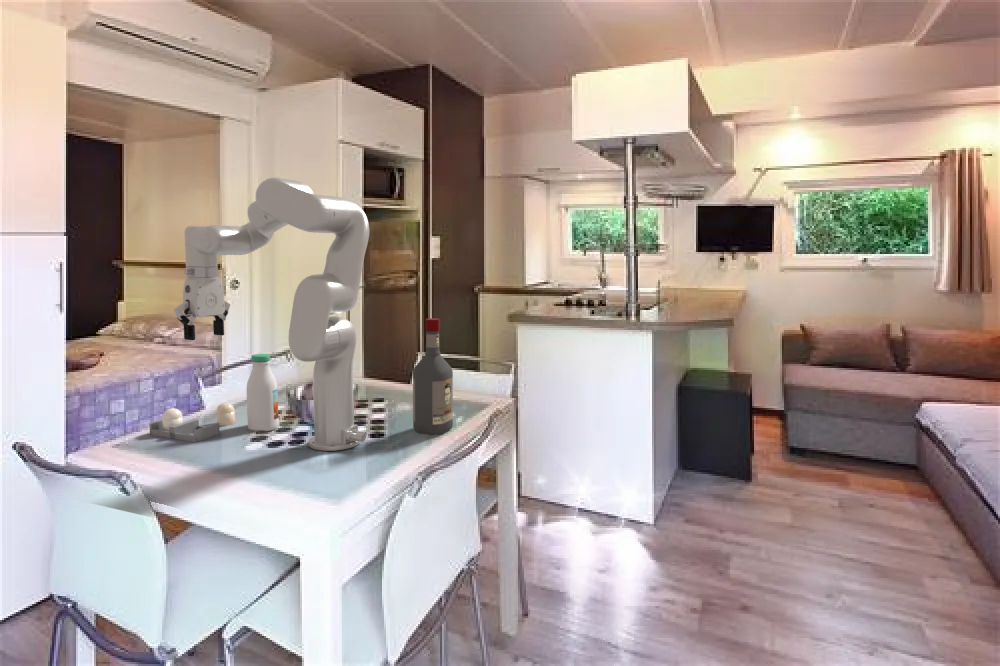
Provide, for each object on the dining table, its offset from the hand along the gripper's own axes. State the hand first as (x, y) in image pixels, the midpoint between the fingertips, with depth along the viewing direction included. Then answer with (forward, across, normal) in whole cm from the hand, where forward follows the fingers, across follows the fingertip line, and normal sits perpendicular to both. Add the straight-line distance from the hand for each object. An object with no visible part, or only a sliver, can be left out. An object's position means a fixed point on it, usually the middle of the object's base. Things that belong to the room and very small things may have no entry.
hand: (204, 337), depth 163 cm
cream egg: (+23, -11, 0) cm, 26 cm away
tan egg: (+24, 0, -6) cm, 25 cm away
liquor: (+23, +19, -59) cm, 66 cm away
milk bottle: (+24, +2, -17) cm, 29 cm away
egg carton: (+24, -11, -4) cm, 26 cm away
